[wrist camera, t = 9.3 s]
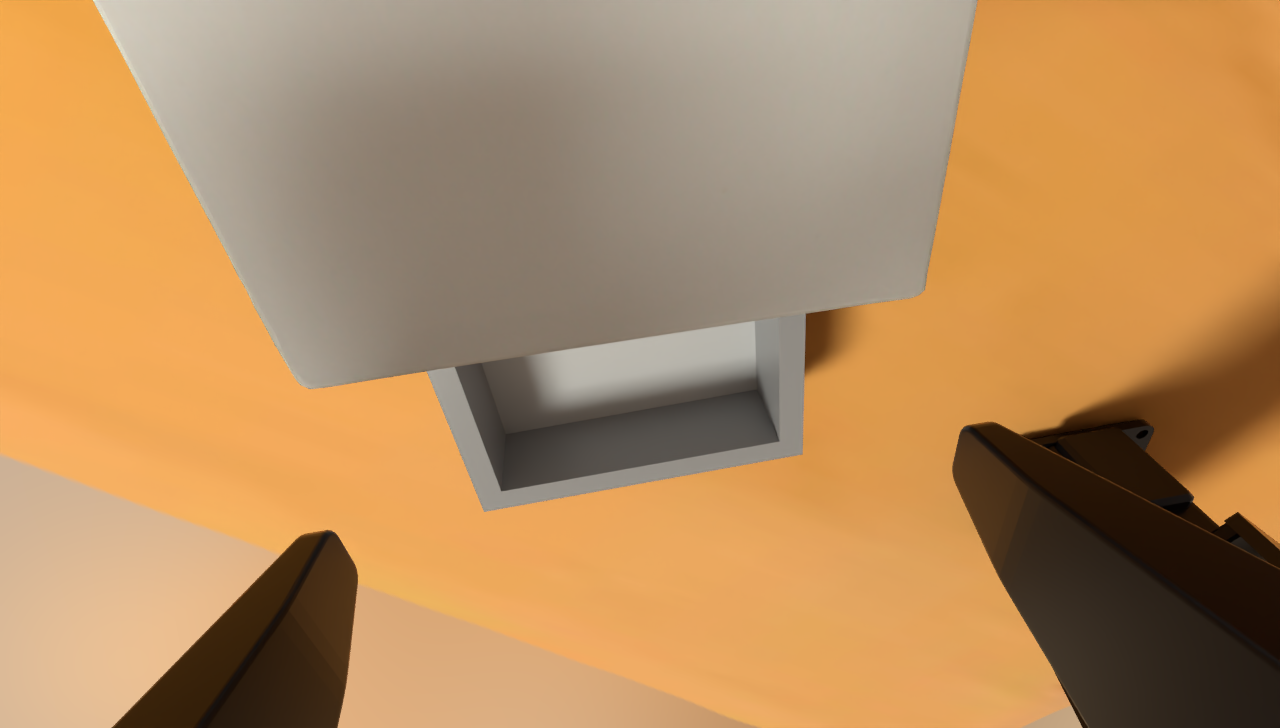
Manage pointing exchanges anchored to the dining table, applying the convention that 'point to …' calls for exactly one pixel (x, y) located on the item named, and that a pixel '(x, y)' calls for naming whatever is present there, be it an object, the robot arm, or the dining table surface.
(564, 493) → the tray
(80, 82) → the dining table surface
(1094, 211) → the dining table surface
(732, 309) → the supplement box
